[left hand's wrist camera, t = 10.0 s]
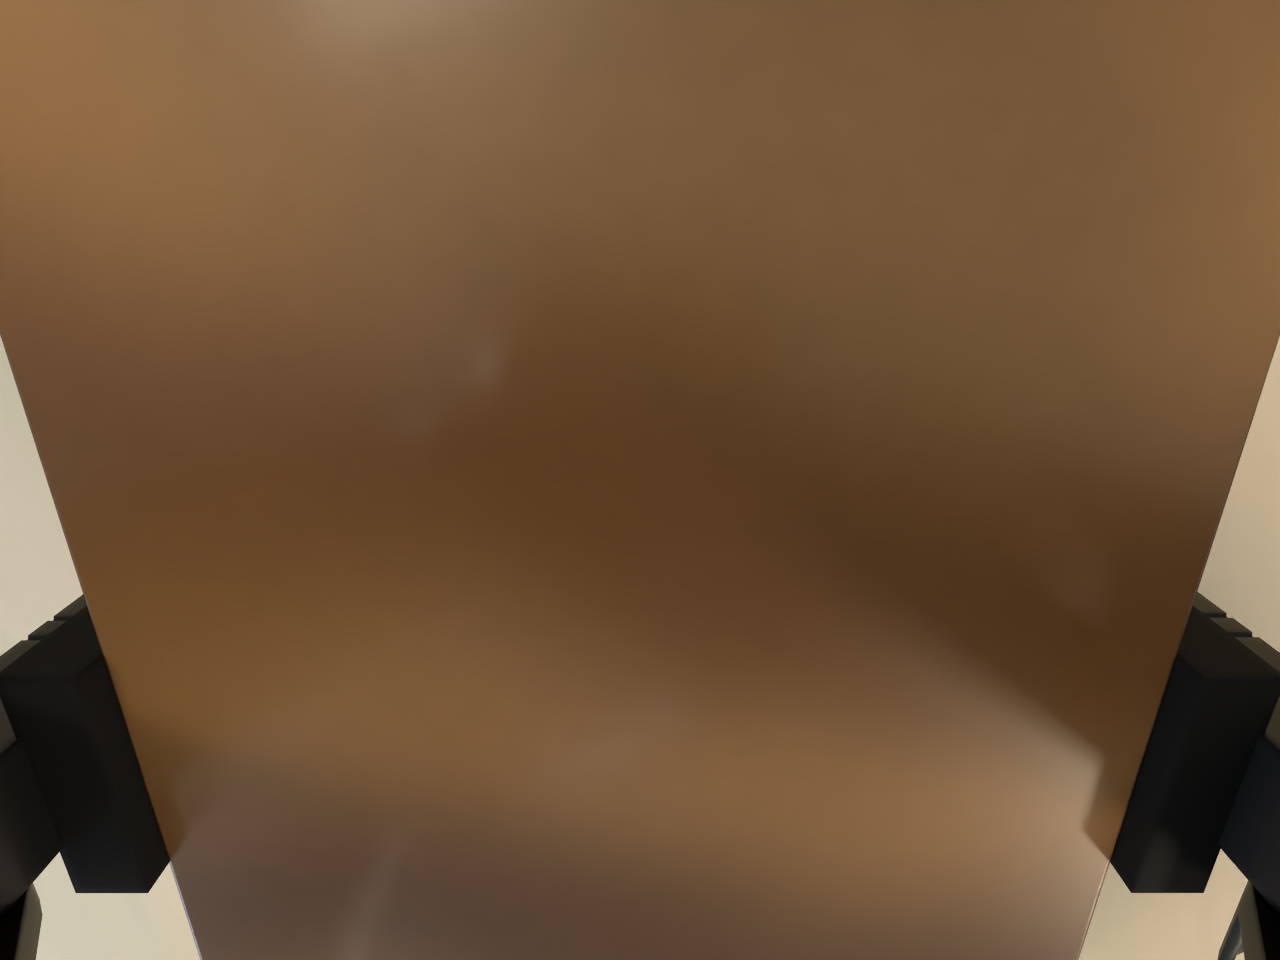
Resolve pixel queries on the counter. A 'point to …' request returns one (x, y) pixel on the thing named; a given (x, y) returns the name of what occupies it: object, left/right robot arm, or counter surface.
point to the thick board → (639, 448)
